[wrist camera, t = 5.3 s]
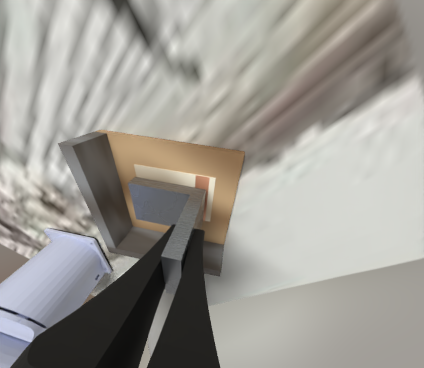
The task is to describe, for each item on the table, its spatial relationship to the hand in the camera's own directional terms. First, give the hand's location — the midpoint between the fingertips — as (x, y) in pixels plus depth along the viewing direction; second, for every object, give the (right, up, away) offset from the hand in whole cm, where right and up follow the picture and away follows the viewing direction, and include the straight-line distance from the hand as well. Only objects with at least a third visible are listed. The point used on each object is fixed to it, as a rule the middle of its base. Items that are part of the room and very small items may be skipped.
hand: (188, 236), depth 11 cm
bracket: (-2, +2, +3) cm, 4 cm away
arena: (-2, +2, +5) cm, 6 cm away
